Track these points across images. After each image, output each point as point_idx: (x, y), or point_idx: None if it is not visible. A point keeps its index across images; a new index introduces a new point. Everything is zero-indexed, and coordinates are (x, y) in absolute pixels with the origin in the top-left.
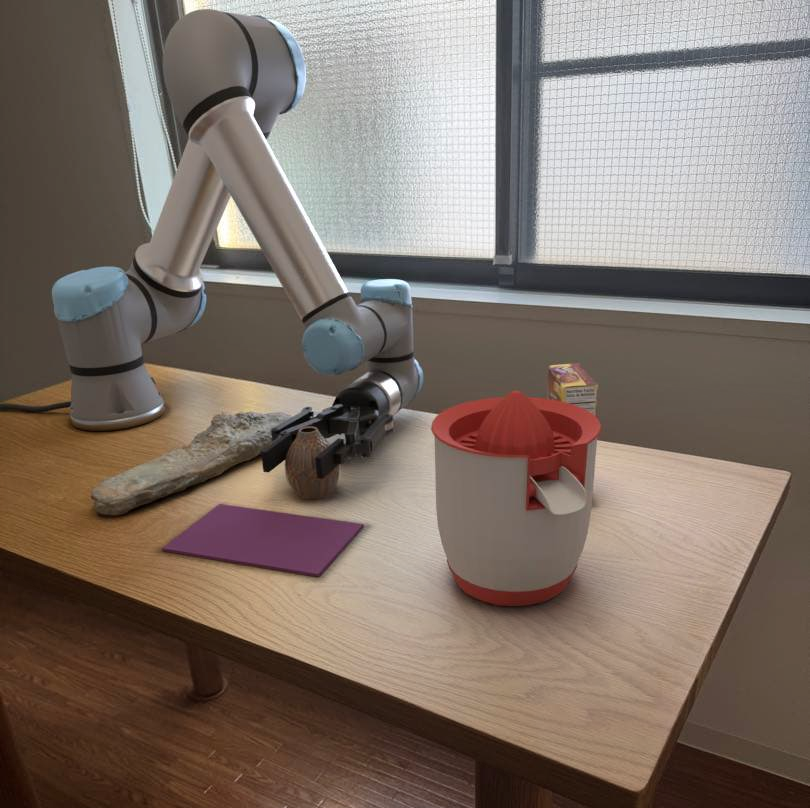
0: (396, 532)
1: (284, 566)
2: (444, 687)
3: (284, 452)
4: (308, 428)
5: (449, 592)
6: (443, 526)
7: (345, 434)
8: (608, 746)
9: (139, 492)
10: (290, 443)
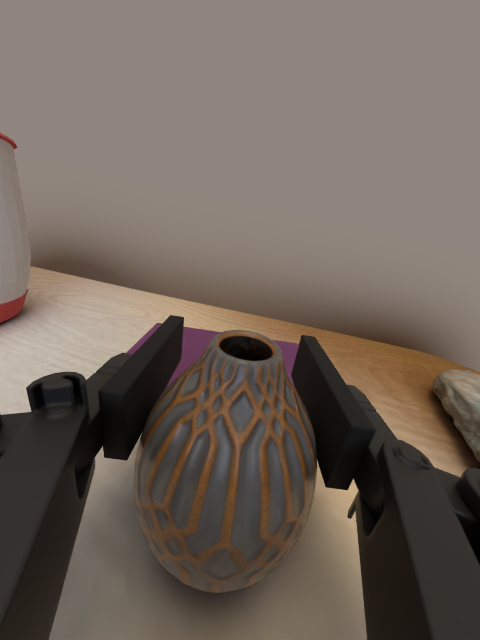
0: None
1: (190, 329)
2: (82, 283)
3: (314, 414)
4: (264, 375)
5: (34, 312)
6: (29, 243)
7: (83, 378)
8: None
9: (447, 383)
10: (334, 442)
